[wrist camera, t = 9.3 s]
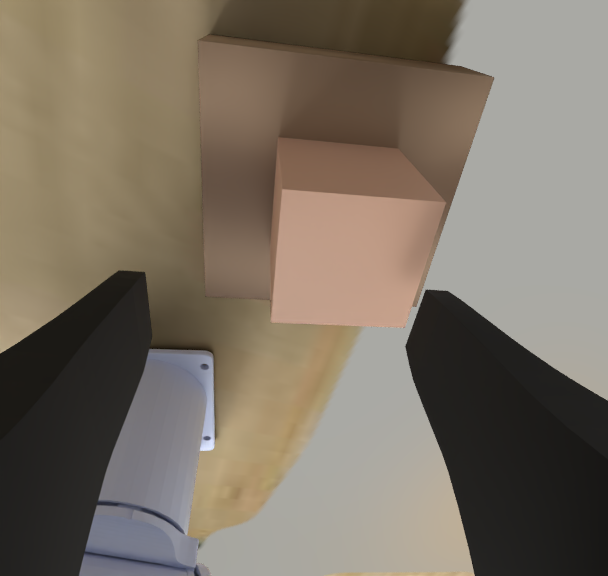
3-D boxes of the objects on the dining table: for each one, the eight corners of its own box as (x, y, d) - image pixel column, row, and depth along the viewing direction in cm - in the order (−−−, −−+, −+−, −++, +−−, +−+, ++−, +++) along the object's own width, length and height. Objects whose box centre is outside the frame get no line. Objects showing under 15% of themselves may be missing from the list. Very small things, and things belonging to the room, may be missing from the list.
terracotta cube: (373, 252, 18) (404, 327, 14) (269, 246, 17) (270, 322, 13) (398, 148, 15) (446, 202, 11) (278, 137, 15) (282, 189, 11)
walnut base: (399, 273, 22) (416, 306, 20) (212, 262, 21) (205, 296, 18) (460, 66, 16) (494, 77, 14) (208, 34, 15) (197, 40, 13)
